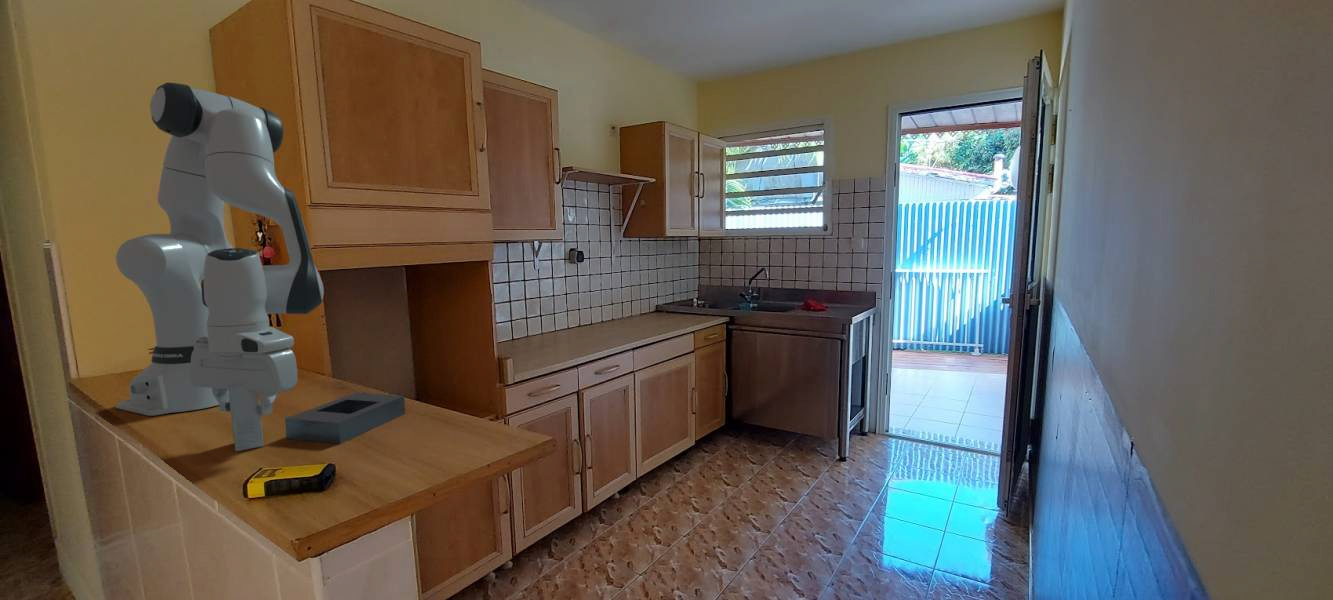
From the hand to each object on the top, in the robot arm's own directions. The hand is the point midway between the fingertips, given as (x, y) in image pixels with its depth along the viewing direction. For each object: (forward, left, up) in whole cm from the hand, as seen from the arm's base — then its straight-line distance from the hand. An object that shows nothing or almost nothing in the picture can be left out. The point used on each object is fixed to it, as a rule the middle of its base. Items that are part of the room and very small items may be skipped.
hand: (246, 412), depth 100 cm
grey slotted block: (+10, +13, -6) cm, 18 cm away
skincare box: (0, 0, -6) cm, 6 cm away
